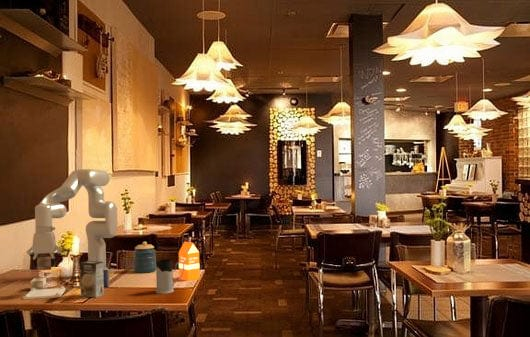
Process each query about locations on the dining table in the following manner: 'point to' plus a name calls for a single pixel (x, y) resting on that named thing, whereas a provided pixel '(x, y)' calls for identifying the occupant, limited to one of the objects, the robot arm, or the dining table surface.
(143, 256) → the canister
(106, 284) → the flask
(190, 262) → the orange juice
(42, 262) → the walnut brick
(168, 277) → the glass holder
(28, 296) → the baseplate
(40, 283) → the ash brick
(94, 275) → the coffee box
